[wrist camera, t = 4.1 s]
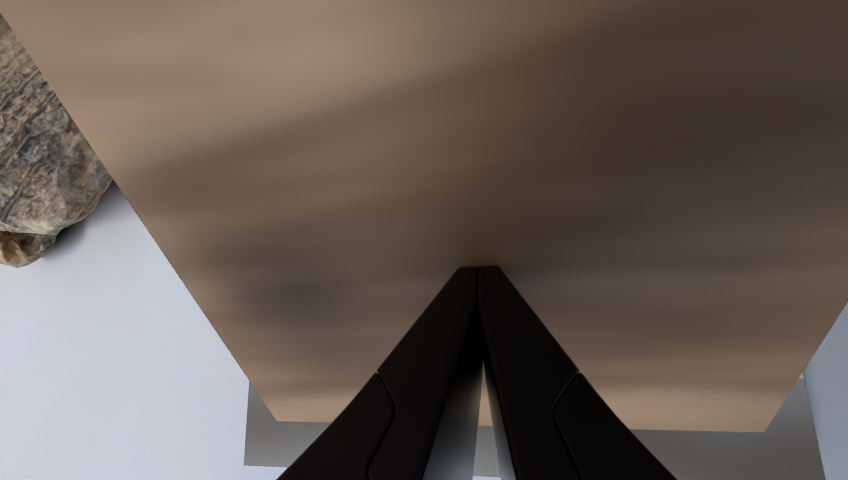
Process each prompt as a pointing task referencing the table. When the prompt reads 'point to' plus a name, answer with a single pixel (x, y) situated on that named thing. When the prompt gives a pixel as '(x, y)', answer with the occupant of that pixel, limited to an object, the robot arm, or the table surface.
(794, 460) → the oak floor board
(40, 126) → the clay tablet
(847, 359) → the table surface
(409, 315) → the walnut plank
